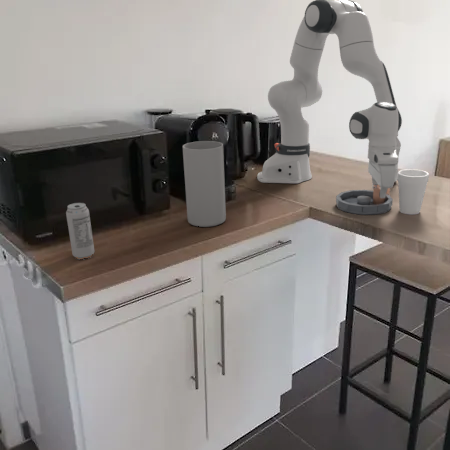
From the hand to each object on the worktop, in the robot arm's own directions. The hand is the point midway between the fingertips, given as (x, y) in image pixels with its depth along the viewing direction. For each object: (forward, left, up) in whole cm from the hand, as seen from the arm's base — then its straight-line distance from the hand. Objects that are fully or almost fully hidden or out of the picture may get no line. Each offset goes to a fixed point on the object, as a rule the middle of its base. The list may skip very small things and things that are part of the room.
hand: (378, 193), depth 173 cm
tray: (-5, 0, -4) cm, 7 cm away
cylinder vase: (-58, -11, -5) cm, 59 cm away
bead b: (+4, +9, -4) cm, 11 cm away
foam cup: (+9, -6, -5) cm, 12 cm away
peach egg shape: (0, 0, -3) cm, 3 cm away
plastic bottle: (+11, +28, -5) cm, 30 cm away
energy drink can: (-91, -37, -5) cm, 98 cm away
